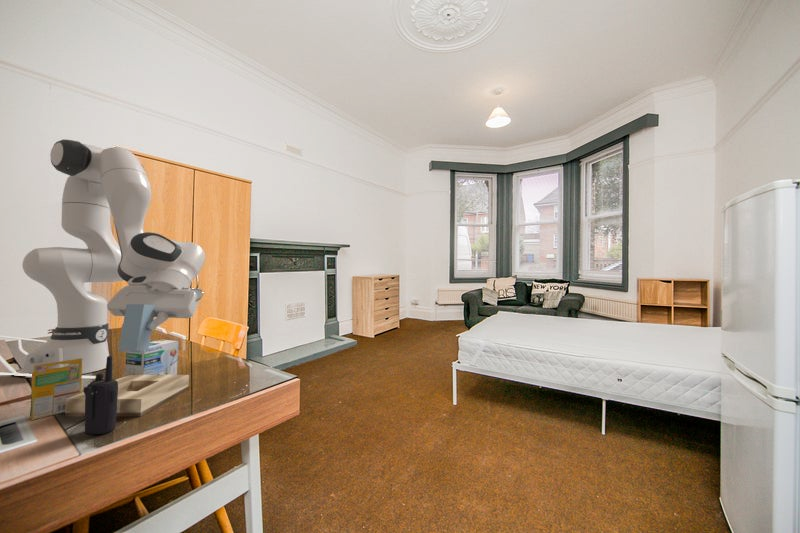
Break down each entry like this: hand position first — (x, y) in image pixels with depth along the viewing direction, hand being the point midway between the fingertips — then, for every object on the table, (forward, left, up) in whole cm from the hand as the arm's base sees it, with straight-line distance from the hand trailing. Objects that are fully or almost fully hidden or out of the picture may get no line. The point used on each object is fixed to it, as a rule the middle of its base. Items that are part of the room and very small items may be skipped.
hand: (137, 328), depth 74 cm
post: (0, -1, -5) cm, 5 cm away
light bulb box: (-7, +15, -18) cm, 25 cm away
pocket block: (0, 0, -18) cm, 18 cm away
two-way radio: (+5, -14, -18) cm, 24 cm away
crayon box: (-12, -6, -18) cm, 23 cm away
